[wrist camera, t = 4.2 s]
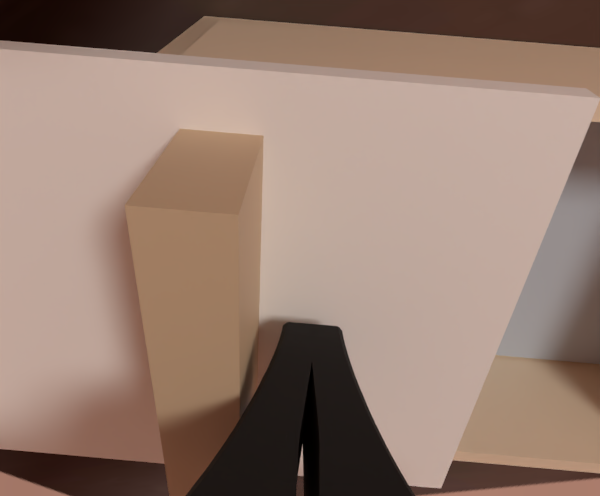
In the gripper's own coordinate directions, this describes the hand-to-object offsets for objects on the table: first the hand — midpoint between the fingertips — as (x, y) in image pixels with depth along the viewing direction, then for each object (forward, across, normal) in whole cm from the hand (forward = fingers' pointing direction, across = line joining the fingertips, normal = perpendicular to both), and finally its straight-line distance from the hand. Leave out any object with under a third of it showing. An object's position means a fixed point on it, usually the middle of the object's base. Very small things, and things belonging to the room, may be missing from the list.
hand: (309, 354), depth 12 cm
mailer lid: (+1, +4, 0) cm, 4 cm away
